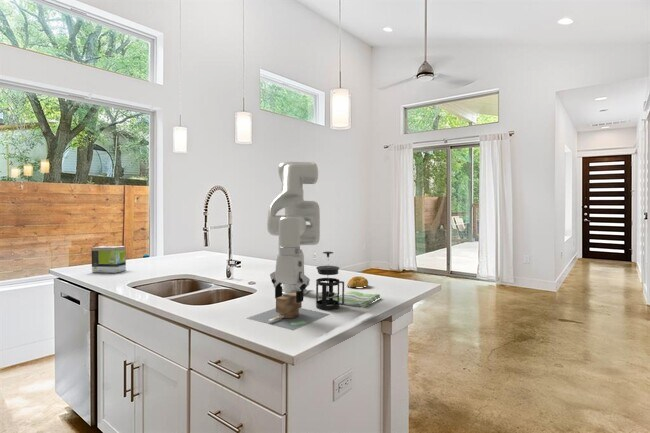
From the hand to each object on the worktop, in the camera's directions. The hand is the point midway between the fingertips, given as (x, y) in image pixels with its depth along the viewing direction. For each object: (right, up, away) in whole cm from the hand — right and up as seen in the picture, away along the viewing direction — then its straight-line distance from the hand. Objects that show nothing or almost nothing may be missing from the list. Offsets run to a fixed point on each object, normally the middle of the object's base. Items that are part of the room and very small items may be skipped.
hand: (289, 299), depth 133 cm
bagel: (+29, -6, +55) cm, 62 cm away
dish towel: (+24, -7, +26) cm, 37 cm away
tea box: (-114, -3, +89) cm, 145 cm away
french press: (+14, -7, +13) cm, 20 cm away
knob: (-1, -6, -1) cm, 6 cm away
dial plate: (0, -7, +1) cm, 7 cm away
